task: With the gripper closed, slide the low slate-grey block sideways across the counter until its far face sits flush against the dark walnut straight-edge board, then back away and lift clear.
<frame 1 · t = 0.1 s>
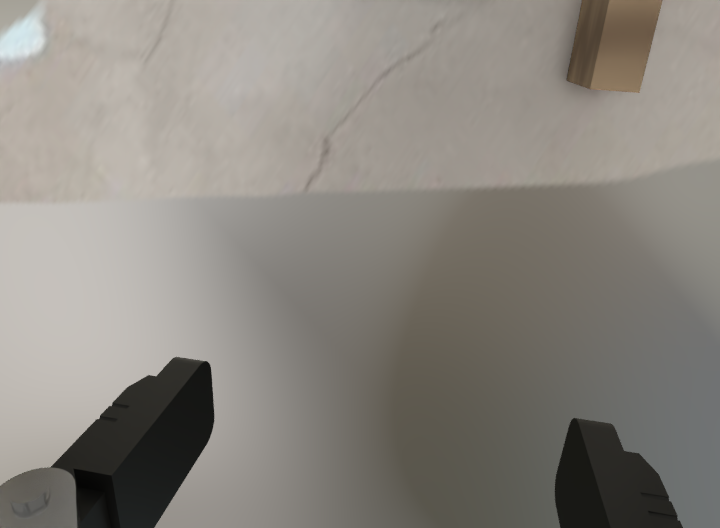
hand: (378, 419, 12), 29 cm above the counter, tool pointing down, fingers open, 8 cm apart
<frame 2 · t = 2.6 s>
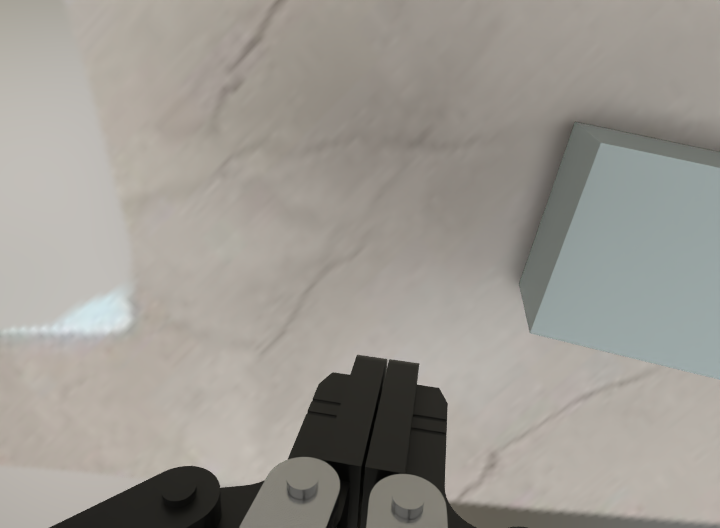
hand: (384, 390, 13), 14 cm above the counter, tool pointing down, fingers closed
grey block: (653, 231, 24), on the counter
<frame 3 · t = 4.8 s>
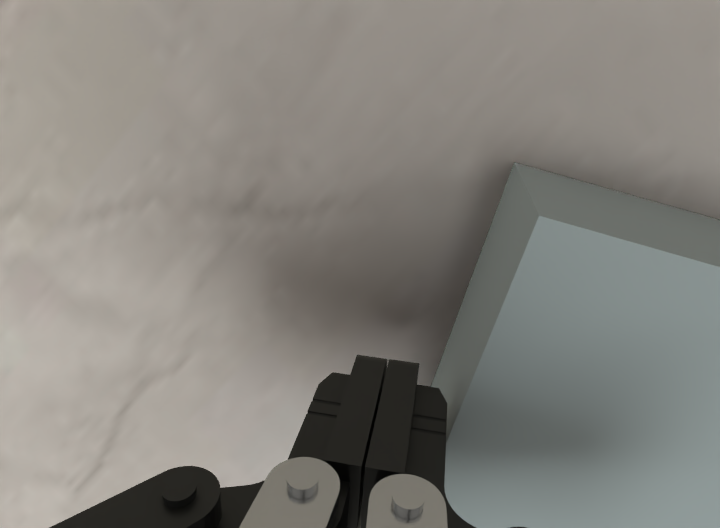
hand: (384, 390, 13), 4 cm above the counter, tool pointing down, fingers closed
grey block: (632, 339, 15), on the counter
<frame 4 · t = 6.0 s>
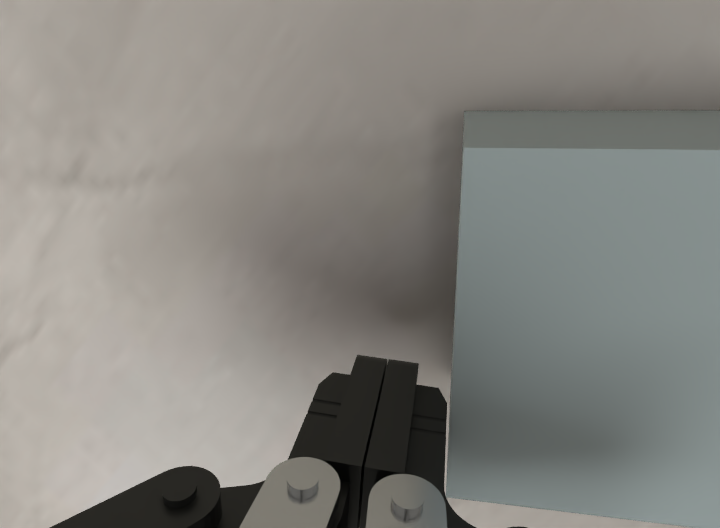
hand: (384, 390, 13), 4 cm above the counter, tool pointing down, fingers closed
grey block: (645, 263, 14), on the counter, touching gripper, walnut board
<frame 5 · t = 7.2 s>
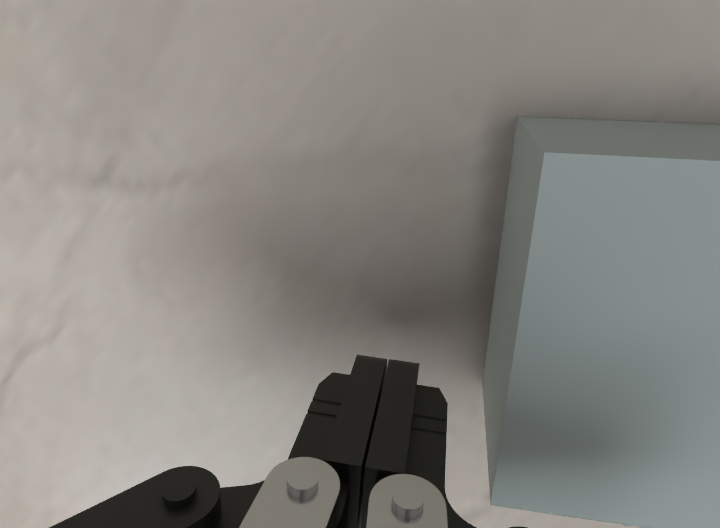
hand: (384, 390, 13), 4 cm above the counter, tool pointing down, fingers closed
grey block: (687, 275, 14), on the counter
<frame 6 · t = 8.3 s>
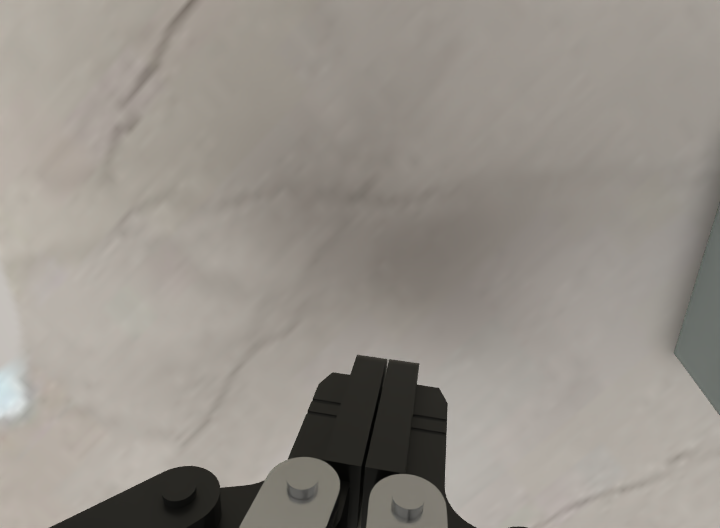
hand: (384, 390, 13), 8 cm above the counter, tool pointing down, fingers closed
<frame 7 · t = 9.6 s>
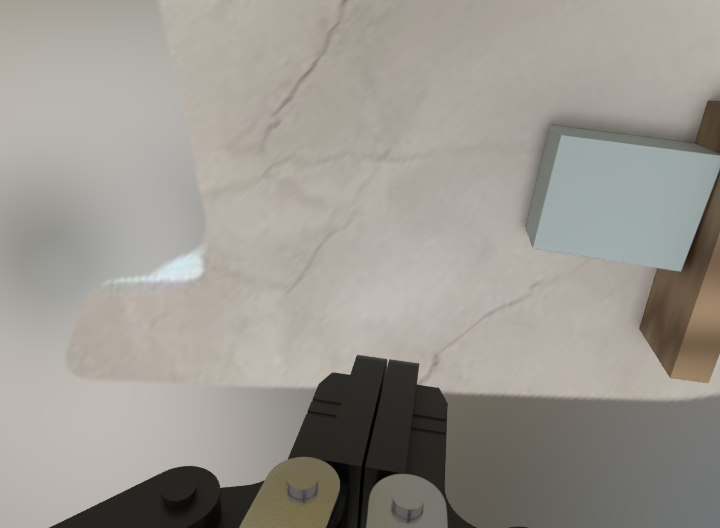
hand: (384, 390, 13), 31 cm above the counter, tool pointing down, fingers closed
walnut board: (688, 226, 40), on the counter
grey block: (604, 186, 40), on the counter
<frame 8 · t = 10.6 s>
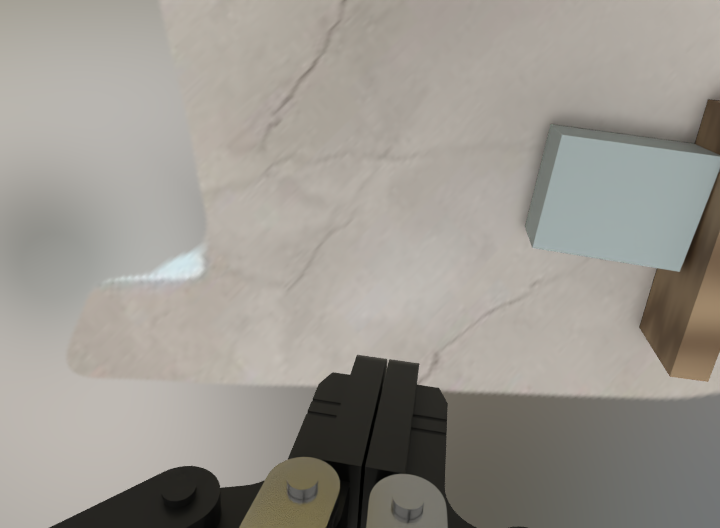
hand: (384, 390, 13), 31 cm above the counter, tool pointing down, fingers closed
walnut board: (688, 225, 40), on the counter
grey block: (604, 186, 40), on the counter
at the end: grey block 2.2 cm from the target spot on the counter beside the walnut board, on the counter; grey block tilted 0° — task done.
